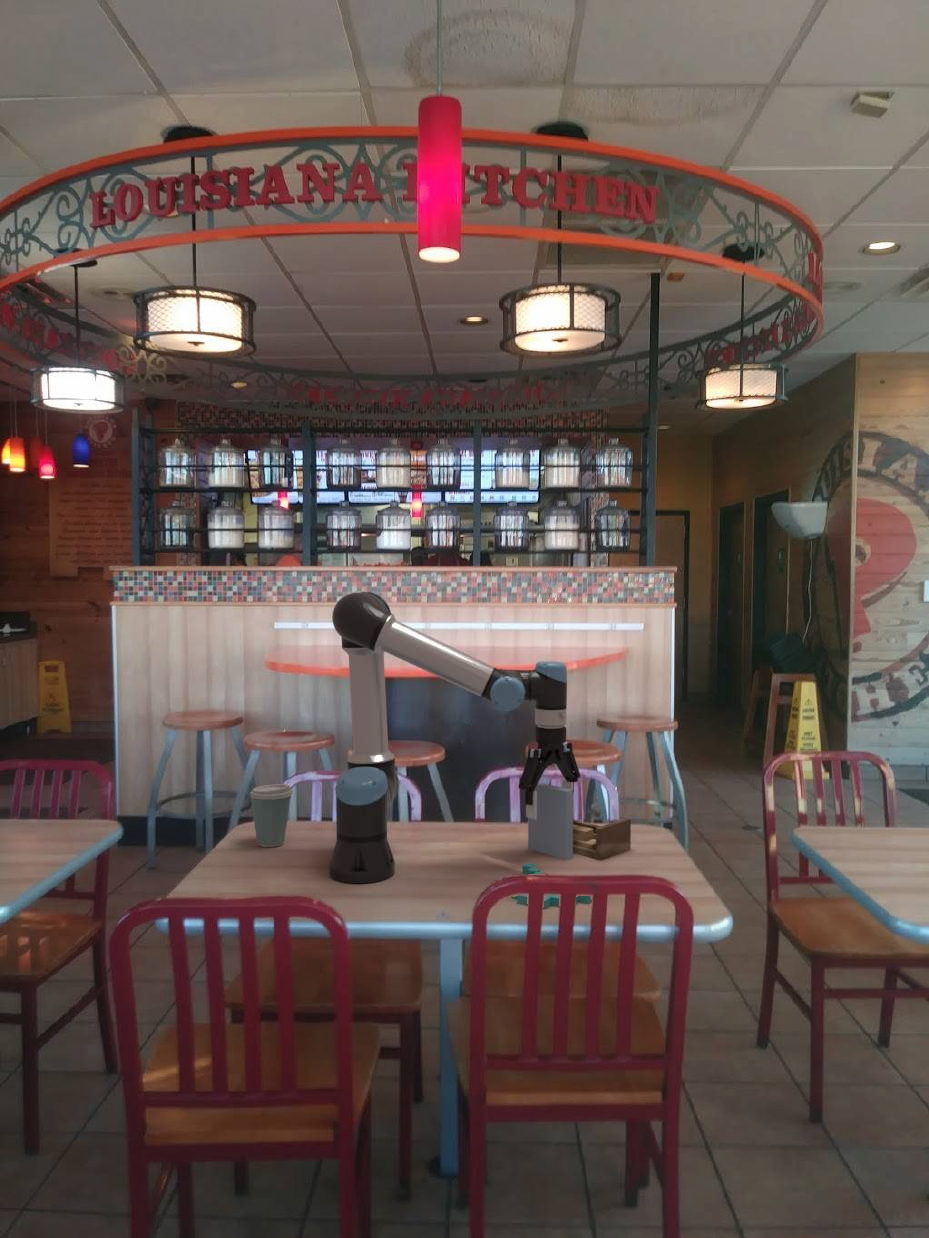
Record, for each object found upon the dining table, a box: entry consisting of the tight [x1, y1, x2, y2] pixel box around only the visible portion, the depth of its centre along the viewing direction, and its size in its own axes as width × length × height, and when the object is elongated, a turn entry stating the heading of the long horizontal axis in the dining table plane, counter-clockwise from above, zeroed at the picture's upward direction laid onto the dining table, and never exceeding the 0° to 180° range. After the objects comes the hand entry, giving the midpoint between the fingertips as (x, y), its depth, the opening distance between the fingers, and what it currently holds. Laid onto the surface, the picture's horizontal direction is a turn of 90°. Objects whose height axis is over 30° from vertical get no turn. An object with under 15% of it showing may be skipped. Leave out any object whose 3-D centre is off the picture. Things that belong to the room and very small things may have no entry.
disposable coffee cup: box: [249, 783, 293, 848], centre depth 225 cm, size 11×11×15 cm
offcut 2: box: [573, 839, 596, 850], centre depth 217 cm, size 12×4×2 cm, turn 44°
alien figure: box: [508, 862, 592, 910], centre depth 191 cm, size 20×2×20 cm
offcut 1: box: [573, 825, 593, 842], centre depth 217 cm, size 9×3×2 cm, turn 49°
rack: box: [573, 817, 632, 861], centre depth 218 cm, size 20×12×9 cm, turn 44°
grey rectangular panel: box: [527, 781, 574, 861], centre depth 212 cm, size 12×2×17 cm, turn 44°
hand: (549, 812), depth 212 cm, fingers open, 13 cm apart
